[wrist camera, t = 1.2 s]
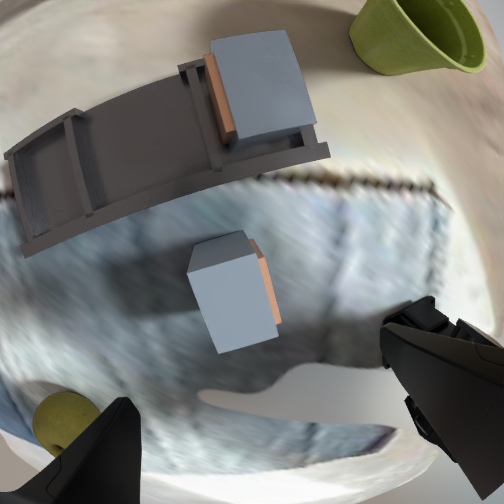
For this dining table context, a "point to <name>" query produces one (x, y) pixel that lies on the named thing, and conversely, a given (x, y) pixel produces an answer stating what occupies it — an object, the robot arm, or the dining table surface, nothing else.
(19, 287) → the dining table surface
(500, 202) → the dining table surface
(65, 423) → the apple
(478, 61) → the plant pot
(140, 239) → the dining table surface
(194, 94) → the rail
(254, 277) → the block
